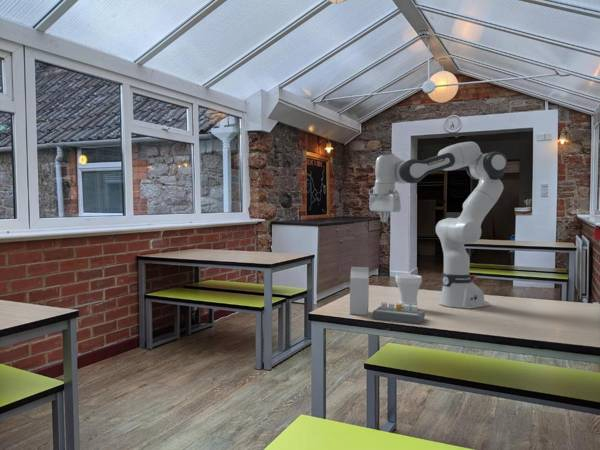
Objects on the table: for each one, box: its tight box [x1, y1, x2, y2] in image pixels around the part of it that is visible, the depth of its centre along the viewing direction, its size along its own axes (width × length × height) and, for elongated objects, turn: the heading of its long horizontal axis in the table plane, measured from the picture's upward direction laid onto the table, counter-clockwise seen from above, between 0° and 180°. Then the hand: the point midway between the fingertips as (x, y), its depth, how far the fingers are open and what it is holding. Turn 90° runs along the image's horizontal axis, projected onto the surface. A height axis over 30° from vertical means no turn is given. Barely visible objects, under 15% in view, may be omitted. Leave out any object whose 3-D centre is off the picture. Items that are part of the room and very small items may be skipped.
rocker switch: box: [395, 303, 402, 311], centre depth 192 cm, size 2×1×2 cm, turn 65°
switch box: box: [372, 301, 426, 325], centre depth 192 cm, size 18×10×6 cm, turn 64°
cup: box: [395, 273, 423, 310], centre depth 210 cm, size 11×11×14 cm
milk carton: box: [349, 266, 370, 316], centre depth 201 cm, size 7×7×19 cm
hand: (384, 221), depth 215 cm, fingers closed
